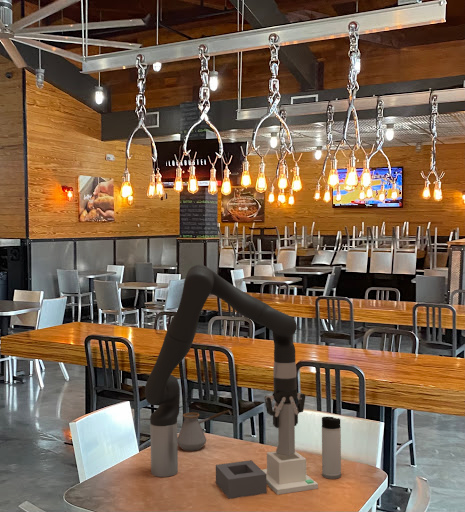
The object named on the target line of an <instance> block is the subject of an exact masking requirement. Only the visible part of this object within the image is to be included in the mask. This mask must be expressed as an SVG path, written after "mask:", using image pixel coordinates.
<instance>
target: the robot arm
mask: <svg viewBox="0 0 465 512" xmlns="http://www.w3.org/2000/svg"><path fill="white" fill-rule="evenodd" d="M210 294H211V295H213V296H215V297H217V298H219V299H220V300H222V301H224V302H225V303H226V304H227V305H228V306H229V307H231V308H232V309H234V311H236V312H237V313H238V314H240V315H241V316H243V317H245V318H246V319H248V320H250V321H252V322H254V323H256V324H258V325H260V326H261V325H262V326H263V327H265V328H267V329H268V330H270V331H272V340H273V369H272V371H273V377H272V378H273V379H272V380H273V392H272V395H269V396H268V395H265V396H264V402H265V407H266V413H267V415H269V416H272V426H274V427H275V428H276V429H278V428H279V417H278V415H279V412H280V411H281V409H282V406H283V404H286V403H287V402H288V403H291V404H293V409H294V412H295V427H297V425H298V424H299V414H300V413H303V412H304V410H305V402H306V394H305V393H302V392H298V391H297V374H298V372H297V364H296V362H297V361H296V346H295V343H294V334H295V333H296V332H297V328H298V326H297V325H298V324H297V321H296V320H295V318H294V317H292V316H291V315H289V314H286V313H285V312H282V311H279V310H278V309H275V308H273V307H272V306H271V305H269V304H267V303H266V302H264V301H262V300H261V299H258V298H256V297H254V296H253V295H251V294H248V293H247V292H245V291H243V290H242V289H239V288H238V287H236V286H235V285H233V284H232V283H230V282H228V281H227V280H226V279H224V278H223V277H221V276H220V275H218V274H217V272H216V271H214V270H212V269H211V268H209V267H208V266H207V265H206V266H205V265H203V264H196V265H194V266H191V267H190V268H189V269H188V271H187V273H186V275H185V278H184V282H183V287H182V293H181V296H180V297H181V298H180V300H179V305H178V307H177V310H176V311H175V313H174V315H173V317H172V318H171V321H170V322H169V325H168V328H167V330H166V332H165V336H164V339H163V342H162V345H161V348H160V350H159V353H158V356H157V358H156V362H155V364H154V366H153V367H152V370H151V372H150V374H149V377H148V378H147V380H146V382H145V387H144V397H145V400H146V402H147V403H148V404H149V405H151V406H158V407H157V408H156V409H155V411H153V412H152V413H151V415H150V418H149V420H150V421H149V422H150V423H149V426H150V427H149V428H150V432H149V433H150V474H151V475H152V476H155V477H158V478H165V477H166V478H169V477H173V476H175V475H176V474H178V472H179V456H178V455H179V454H178V453H179V452H178V450H179V449H178V448H179V445H178V439H177V438H178V417H179V415H180V404H181V403H180V400H181V399H180V398H181V391H180V390H181V387H180V383H179V381H178V379H177V378H176V377H175V376H174V375H173V374H172V373H173V372H174V370H175V369H176V368H177V367H178V366H179V364H180V363H181V362H182V361H183V360H184V359H185V358H186V356H187V355H188V354H189V352H190V350H191V347H192V344H193V341H194V339H195V336H196V333H197V329H198V325H199V319H200V315H201V313H202V310H203V308H204V306H205V304H206V302H207V300H208V298H209V296H210ZM296 399H297V404H296V403H295V401H296ZM273 400H274V401H273ZM273 402H275V403H274V405H273V404H272V403H273ZM276 403H277V404H278V407H277V406H276Z"/></svg>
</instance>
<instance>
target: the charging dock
mask: <svg viewBox="0 0 465 512" xmlns="http://www.w3.org/2000/svg"><path fill="white" fill-rule="evenodd" d="M261 470H262V471H263V472H265V473H266V486H267V487H269V488H270V489H271V490H272V492H274V493H275V494H276V496H278V495H284V494H291V493H297V492H304V491H309V490H310V491H312V490H316V489H317V490H318V489H319V484H318V482H317V481H315V480H314V479H312V477H310V476H309V475H307V458H305V457H304V456H303V455H301V454H300V453H299V452H297V451H296V450H295V453H294V454H292V455H290V456H285V455H281V454H277V453H276V450H275V451H267V452H266V468H264V469H261Z"/></svg>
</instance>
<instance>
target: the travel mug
mask: <svg viewBox="0 0 465 512" xmlns="http://www.w3.org/2000/svg"><path fill="white" fill-rule="evenodd" d="M341 428H342V427H341V418H337V417H334V416H323V417H322V416H321V463H322V464H321V465H322V466H321V470H322V471H321V475H322V477H323V478H325V479H328V480H336V479H340V478H341V476H342V440H341V438H342V434H341V433H342V432H341Z"/></svg>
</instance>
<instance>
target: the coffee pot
mask: <svg viewBox="0 0 465 512" xmlns="http://www.w3.org/2000/svg"><path fill="white" fill-rule="evenodd" d="M227 413H229V415H230V416H231V415H232V411H231V410H230V409H227V410H223V411H221V412H218V413H216V414H213V415H212V416H209V417H208V418H207V417H206V418H204V419H202V420H201V419H200V420H199V417H200V413H199V412H186V413H183V414H182V417H183V419H184V421H183V424H182V426H181V428H180V430H179V434H178V435H177V439H178V447H180V448H181V449H182V450H183V451H188V452H193V451H194V452H195V451H199V450H201V449H202V448H203V447H204V446H205V444H206V442H207V437H206V435H205V433H204V430H203V428H202V426H201V424H203V423H204V422H207V421H209V420H213V419H215V418H218V417H221V416H222V415H223V416H224V415H226V414H227Z"/></svg>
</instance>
